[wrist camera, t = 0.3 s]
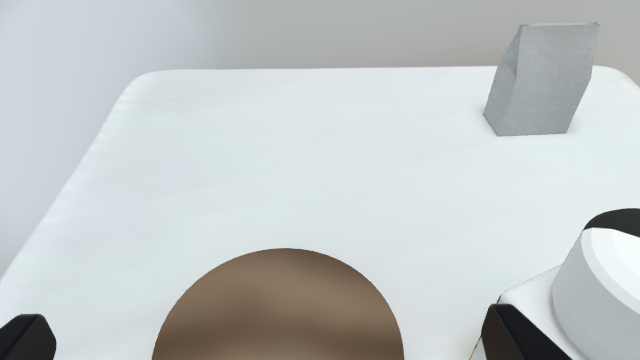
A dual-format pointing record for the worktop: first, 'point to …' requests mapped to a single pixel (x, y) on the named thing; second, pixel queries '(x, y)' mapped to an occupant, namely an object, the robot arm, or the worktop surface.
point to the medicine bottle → (589, 293)
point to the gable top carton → (541, 79)
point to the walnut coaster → (281, 312)
